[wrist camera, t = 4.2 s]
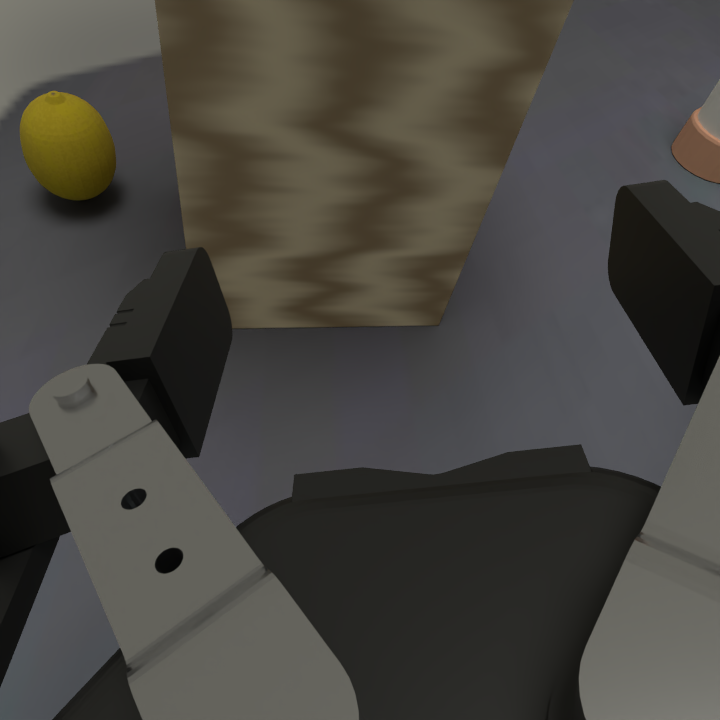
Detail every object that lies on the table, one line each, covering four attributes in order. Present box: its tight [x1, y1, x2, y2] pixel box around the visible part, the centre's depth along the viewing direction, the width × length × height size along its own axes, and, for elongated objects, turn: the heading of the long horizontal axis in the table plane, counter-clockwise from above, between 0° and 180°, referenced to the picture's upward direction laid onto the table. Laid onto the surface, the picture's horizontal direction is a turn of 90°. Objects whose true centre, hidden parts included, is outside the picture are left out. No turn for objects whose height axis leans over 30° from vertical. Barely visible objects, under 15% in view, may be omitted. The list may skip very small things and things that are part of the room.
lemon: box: [20, 91, 116, 200], centre depth 39 cm, size 6×6×8 cm
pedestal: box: [155, 0, 574, 328], centre depth 29 cm, size 17×15×32 cm
